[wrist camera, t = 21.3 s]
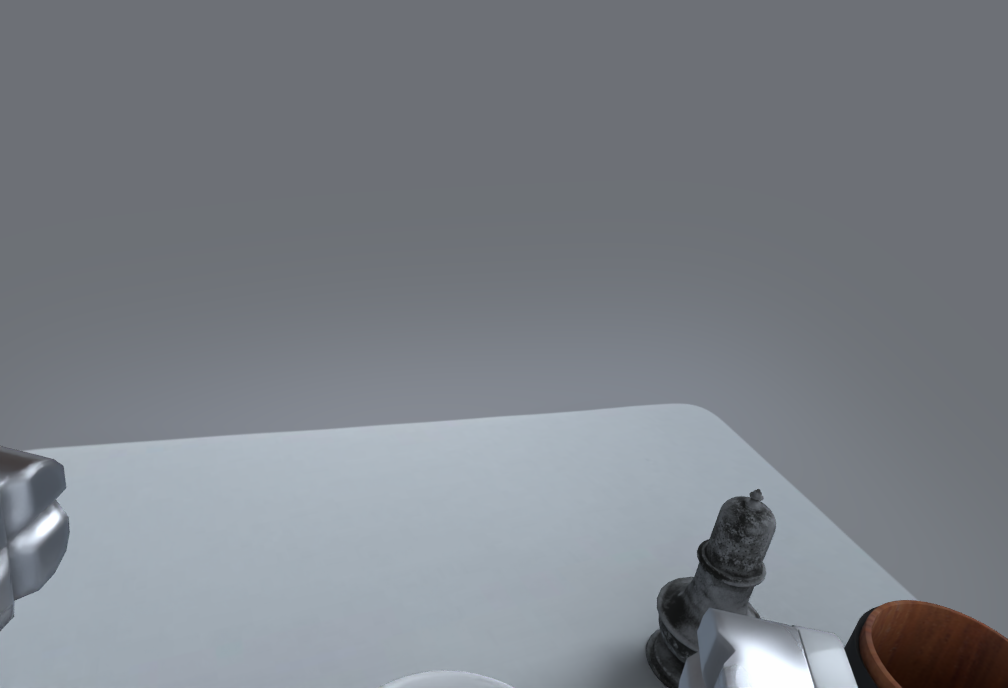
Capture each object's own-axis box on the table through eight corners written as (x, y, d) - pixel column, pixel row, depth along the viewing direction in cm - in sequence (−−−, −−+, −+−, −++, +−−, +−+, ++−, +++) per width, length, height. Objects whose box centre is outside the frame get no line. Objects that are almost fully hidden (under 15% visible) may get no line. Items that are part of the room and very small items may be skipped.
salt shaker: (765, 675, 44) (840, 504, 39) (705, 726, 41) (780, 544, 35) (682, 608, 48) (741, 444, 43) (620, 649, 44) (676, 474, 39)
